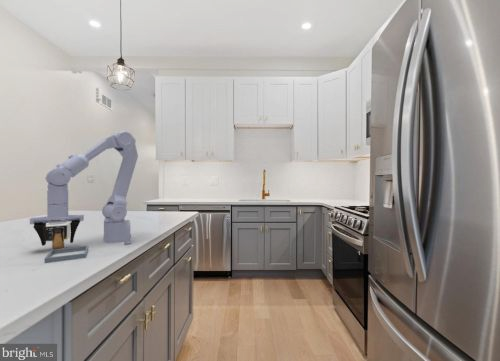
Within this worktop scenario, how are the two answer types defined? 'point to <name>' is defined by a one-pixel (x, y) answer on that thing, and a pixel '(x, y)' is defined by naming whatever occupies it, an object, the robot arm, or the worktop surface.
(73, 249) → the tray
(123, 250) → the worktop surface
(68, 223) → the medicine bottle
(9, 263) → the worktop surface
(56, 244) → the cell
